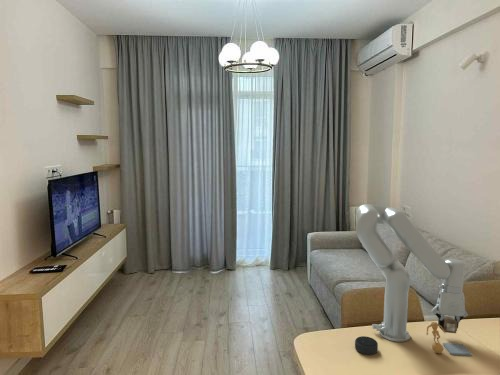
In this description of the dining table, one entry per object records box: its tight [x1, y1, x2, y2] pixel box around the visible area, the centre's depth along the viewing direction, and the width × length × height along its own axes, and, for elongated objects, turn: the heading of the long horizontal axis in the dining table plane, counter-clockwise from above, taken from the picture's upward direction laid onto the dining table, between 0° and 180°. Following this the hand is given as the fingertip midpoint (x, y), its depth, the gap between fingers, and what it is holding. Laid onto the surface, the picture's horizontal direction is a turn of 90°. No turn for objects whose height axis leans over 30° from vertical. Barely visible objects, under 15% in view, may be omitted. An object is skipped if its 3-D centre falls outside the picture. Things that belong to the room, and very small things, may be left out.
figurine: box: [426, 321, 446, 354], centre depth 150 cm, size 8×6×12 cm
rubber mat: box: [442, 342, 473, 357], centre depth 152 cm, size 8×8×1 cm
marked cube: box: [441, 315, 458, 334], centre depth 160 cm, size 5×5×5 cm
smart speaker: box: [354, 335, 379, 356], centre depth 152 cm, size 9×9×4 cm
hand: (447, 328), depth 160 cm, fingers closed on marked cube, 5 cm apart
